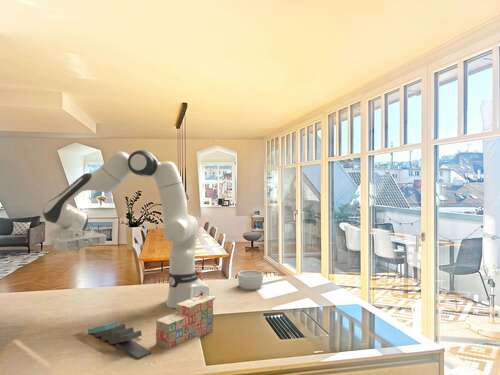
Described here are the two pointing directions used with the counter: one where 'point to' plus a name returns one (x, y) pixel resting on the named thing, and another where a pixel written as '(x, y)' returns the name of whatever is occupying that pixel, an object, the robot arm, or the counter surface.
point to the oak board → (97, 342)
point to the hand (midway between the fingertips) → (90, 243)
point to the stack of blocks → (185, 322)
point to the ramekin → (250, 279)
